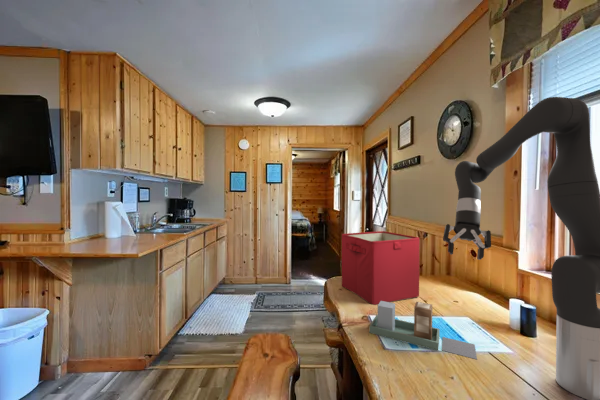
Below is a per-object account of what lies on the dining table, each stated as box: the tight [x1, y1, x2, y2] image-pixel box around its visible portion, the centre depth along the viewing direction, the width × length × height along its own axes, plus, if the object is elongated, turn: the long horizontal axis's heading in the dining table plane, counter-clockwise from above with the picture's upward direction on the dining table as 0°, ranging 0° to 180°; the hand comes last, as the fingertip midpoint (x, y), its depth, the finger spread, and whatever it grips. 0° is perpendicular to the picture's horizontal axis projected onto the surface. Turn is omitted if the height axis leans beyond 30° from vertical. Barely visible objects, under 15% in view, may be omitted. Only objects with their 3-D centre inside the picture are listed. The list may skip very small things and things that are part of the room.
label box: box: [413, 301, 433, 340], centre depth 88 cm, size 5×6×11 cm
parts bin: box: [368, 314, 441, 351], centre depth 91 cm, size 21×10×3 cm, turn 60°
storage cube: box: [341, 230, 420, 306], centre depth 133 cm, size 32×28×29 cm
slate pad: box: [441, 336, 478, 361], centre depth 83 cm, size 9×9×1 cm
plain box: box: [377, 301, 396, 331], centre depth 94 cm, size 5×5×9 cm
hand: (465, 256), depth 91 cm, fingers open, 8 cm apart
